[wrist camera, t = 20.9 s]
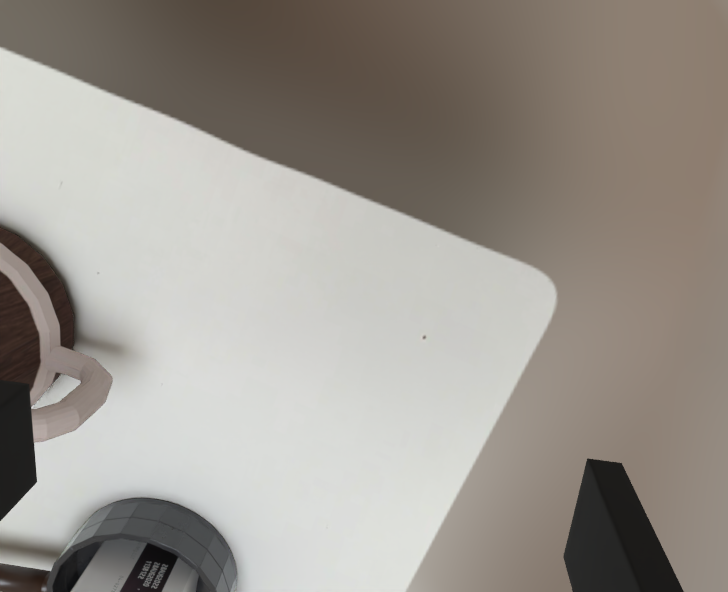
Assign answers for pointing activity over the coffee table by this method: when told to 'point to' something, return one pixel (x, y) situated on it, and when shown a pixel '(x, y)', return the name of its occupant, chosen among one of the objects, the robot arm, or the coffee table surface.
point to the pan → (150, 542)
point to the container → (136, 570)
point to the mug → (43, 340)
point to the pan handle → (22, 579)
